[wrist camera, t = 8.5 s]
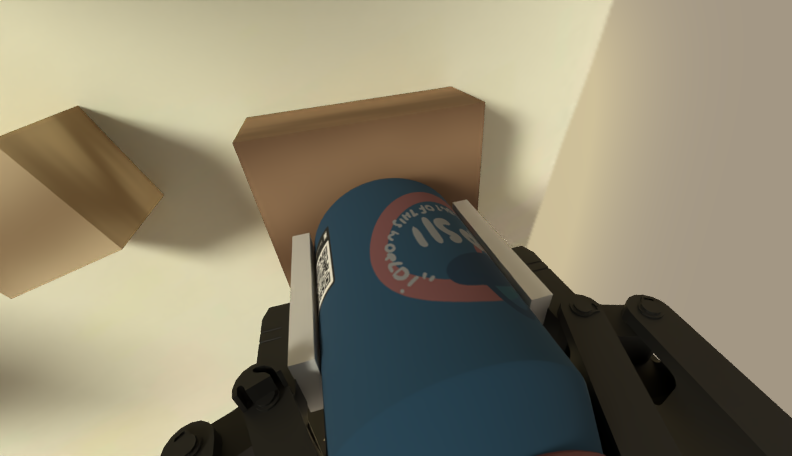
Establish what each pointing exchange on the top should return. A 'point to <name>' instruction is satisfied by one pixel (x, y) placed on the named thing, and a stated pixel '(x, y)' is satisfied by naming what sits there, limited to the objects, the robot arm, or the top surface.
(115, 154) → the oak cube
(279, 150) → the walnut slab
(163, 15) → the top surface
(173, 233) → the top surface
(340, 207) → the soda can
